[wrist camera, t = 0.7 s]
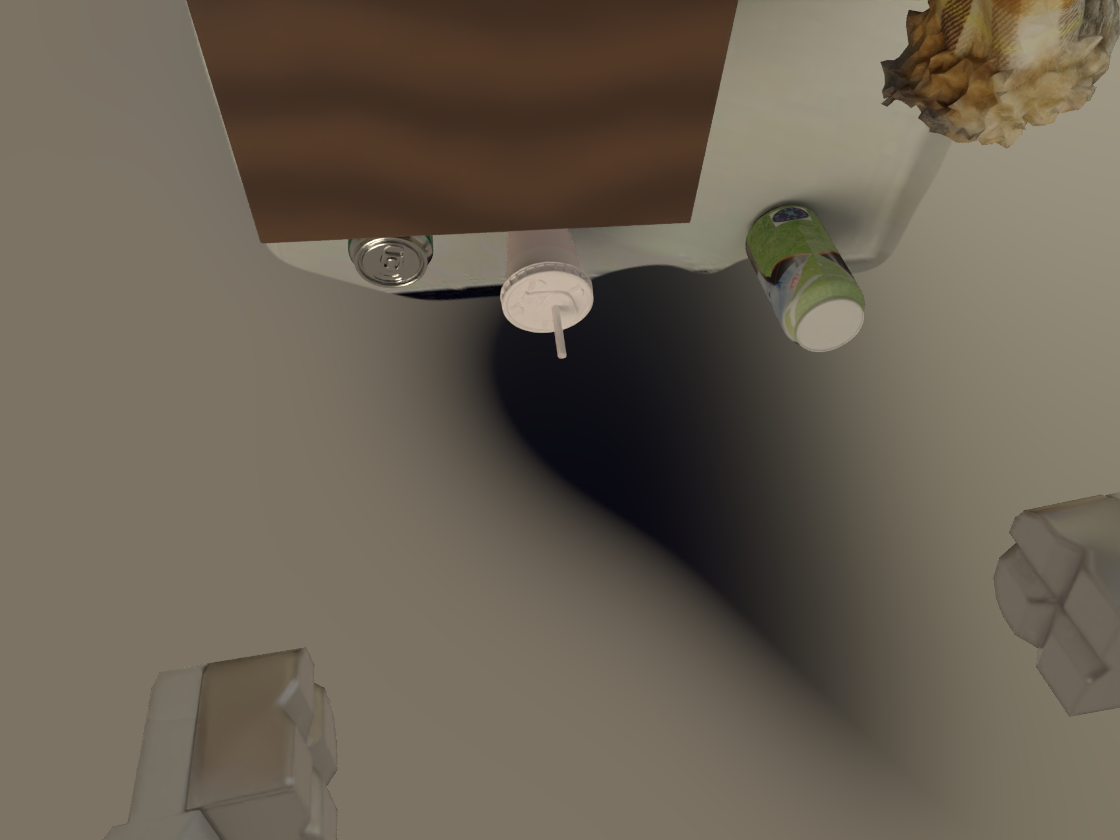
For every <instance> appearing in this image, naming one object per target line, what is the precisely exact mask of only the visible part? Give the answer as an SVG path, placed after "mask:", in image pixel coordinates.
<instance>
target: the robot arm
mask: <svg viewBox="0 0 1120 840" xmlns="http://www.w3.org/2000/svg"><path fill="white" fill-rule="evenodd" d="M1009 533H1010V534H1011V536H1012V537H1013V539H1014V540H1015V542H1016V544H1014V546H1012V547H1011V548H1010V549H1009V550H1008V551H1006V552H1005V554H1003V555H1002V556H1001V557H1000V558H999V561H998V564H997V567H996V570H995V574H994V586H995V594H996V600H997V602H998V605H999V607H1000V610H1001V612H1002V615H1003V617H1004V618H1005V620H1006V622H1007V623H1008V625H1009V626H1010V628H1011V629H1012V631H1013V632H1014V634H1015V635H1017V636H1018V637H1020V638H1021V639H1023V640H1025V641H1027V642H1028V643H1030V644H1032V645H1033V646H1035V647H1037V648H1038V654H1037V663H1036V668H1037V669H1038V670H1039V672H1040V674H1041V675H1042V676H1043V678H1044V680H1045V681H1046V683H1047V684H1048V686H1049V687H1050V689H1051V690H1052V692H1053V693H1054V695H1055V696H1056V698H1057V699H1058V700H1059V702H1060V703H1061V705H1062V706H1063V708H1064V709H1065V711H1066V712H1067V714H1068V715H1069V716H1075V715H1081V714H1087V713H1093V712H1098V711H1104V710H1109V709H1114V708H1120V492H1119V493H1115V494H1109V495H1105V496H1104V495H1097V496H1092V497H1087V498H1082V499H1078V500H1072V501H1067V502H1063V503H1058V504H1053V505H1048V506H1043V507H1038V508H1033V509H1029V510H1024V511H1023V512H1022V513H1020V514H1019V515H1018V516H1017V517H1015V519H1014V521H1013V524H1012V526H1011V529H1010V532H1009ZM336 771H337V740H336V732H335V724H334V717H333V713H332V709H331V705H330V701H329V698H328V696H327V693H326V691H325V688H324V687H322V686H320V685H318V684H316V683H314V663H313V661H312V659H311V657H310V654H309V652H308V650H307V648H306V647H304V648H298V649H292V650H286V651H280V652H274V653H268V654H263V655H256V656H251V657H244V658H238V659H232V660H227V661H221V662H214V663H207V664H202V665H196V666H191V667H186V668H180V669H175V670H169V671H164V672H160V673H159V675H158V677H157V679H156V681H155V683H154V685H153V687H152V689H151V694H150V700H149V705H148V711H147V717H146V722H145V728H144V733H143V739H142V745H141V750H140V756H139V762H138V768H137V774H136V779H135V785H134V790H133V796H132V801H131V807H130V813H129V818H128V823H127V824H123V825H119V826H114V827H112V829H111V830H110V831H109V832H108V834H107V836H105V838H104V839H103V840H337V808H336V806H335V803H334V801H333V799H332V797H331V795H330V793H329V791H328V788H327V785H328V784H329V782H330V781H331V779H332V778H333V776H334V775H335V773H336Z"/></svg>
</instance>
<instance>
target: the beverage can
mask: <svg viewBox="0 0 1120 840" xmlns="http://www.w3.org/2000/svg"><path fill="white" fill-rule="evenodd" d="M746 253H747V255H748V258H749V260H750V262H751V264H752V266H753V268H754V270H755V272H756V274H757V276H758V278H759V280H760V282H761V285H762V287H763V289H764V291H765V293H766V295H767V297H768V299H769V301H770V303H771V305H772V307H773V309H774V312H775V314H776V316H777V318H778V320H779V322H780V324H781V326H782V328H783V330H784V332H785V334H786V335H787V336H788V337H789V338H790V339H791V340H792V341H793V342H795V343H797V344H799V345H801V346H802V347H803V348H805V349H807V350H809V351H814V352H824V351H829V350H833V349H836V348H838V347H840V346H842V345H844V344H845V343H847V342H849V341H850V340H851V339H852V338H853V337H854V336H855V335H856V334H857V333H858V331H859V330H860V328H861V326H862V324H863V321H864V314H863V312H864V305H865V301H864V296H863V293H862V291H861V289H860V288H859V286H858V285H857V283H856V281H855V279H854V277H853V276H852V274H851V272H850V271H849V269H848V267H847V266H846V264H845V262H844V261H843V259H842V257H841V255H840V254H839V252H838V250H837V249H836V247H835V245H834V244H833V242H832V240H831V239H830V237H829V235H828V234H827V232H826V230H825V228H824V227H823V225H822V223H821V222H820V220H819V218H818V217H817V215H816V214H815V213H814V212H813V211H812V210H810V209H809V208H806V207H804V206H800V205H787V206H782V207H779V208H776V209H774V210H772V211H770V212H768V213H766V214H765V215H763V216H762V217H761V218H760V219H759V220H758V221H757V222H756V223H755V224H754V225H753V226H752V228H751V230H750V231H749V233H748V236H747V238H746Z"/></svg>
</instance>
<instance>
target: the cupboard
mask: <svg viewBox="0 0 1120 840" xmlns="http://www.w3.org/2000/svg"><path fill="white" fill-rule="evenodd" d="M737 3H738V0H187V4H188V7H189V10H190V13H191V17H192V20H193V23H194V26H195V30H196V33H197V36H198V40H199V43H200V46H201V49H202V53H203V56H204V59H205V62H206V66H207V69H208V72H209V75H210V79H211V82H212V85H213V88H214V92H215V95H216V98H217V102H218V105H219V108H220V111H221V115H222V118H223V121H224V124H225V128H226V131H227V134H228V137H229V141H230V144H231V147H232V150H233V154H234V157H235V160H236V164H237V167H238V170H239V173H240V177H241V180H242V183H243V186H244V190H245V193H246V196H247V199H248V203H249V206H250V209H251V212H252V215H253V219H254V222H255V226H256V229H257V232H258V235H259V239H260V242H261V243H279V242H300V241H321V240H341V239H362V238H383V237H403V236H424V235H445V234H465V233H486V232H507V231H527V230H548V229H569V228H590V227H610V226H631V225H652V224H672V223H689V222H690V221H691V216H692V211H693V207H694V202H695V197H696V193H697V188H698V184H699V179H700V174H701V170H702V165H703V160H704V156H705V151H706V147H707V142H708V137H709V133H710V128H711V123H712V119H713V114H714V110H715V105H716V100H717V96H718V91H719V86H720V82H721V77H722V73H723V68H724V63H725V59H726V54H727V49H728V45H729V40H730V36H731V31H732V26H733V22H734V17H735V12H736V8H737Z"/></svg>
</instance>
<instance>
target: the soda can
mask: <svg viewBox="0 0 1120 840" xmlns="http://www.w3.org/2000/svg"><path fill="white" fill-rule="evenodd" d="M348 252H349V256H350V258H351V260H352V262H353V263H354V264H355V267H356V270H357V272H358V273H359V275H360V276H361V277H362V278H363V279H365V280H366V281H368V282H369V283H372V284H374V285H377V286H380V287H386V288H398V287H404V286H407V285H410V284H412V283H414V282H416V281H417V280H419V279H420V278H421V277H422V276H423V275H424V273H425V271H426V269H427V265H428V264H429V262H430V261H431V259H432V256H433V236H432V235H424V236H403V237H383V238H362V239H348Z"/></svg>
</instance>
